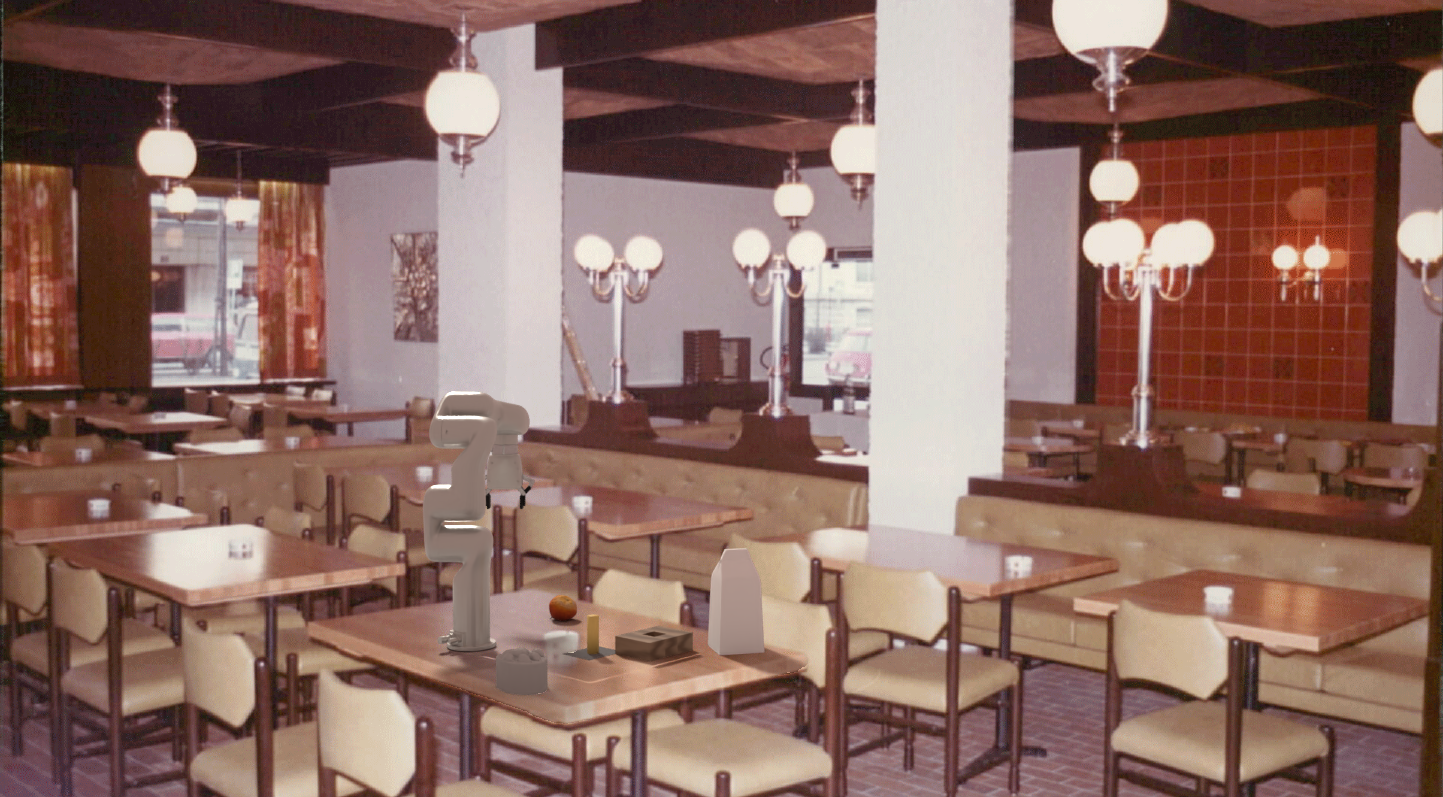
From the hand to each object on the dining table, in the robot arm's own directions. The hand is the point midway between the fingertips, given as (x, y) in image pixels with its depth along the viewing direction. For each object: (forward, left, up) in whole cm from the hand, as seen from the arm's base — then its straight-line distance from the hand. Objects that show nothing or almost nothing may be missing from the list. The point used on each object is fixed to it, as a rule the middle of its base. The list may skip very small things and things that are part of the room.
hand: (505, 508), depth 383 cm
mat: (-19, -57, -31) cm, 68 cm away
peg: (-19, -57, -30) cm, 67 cm away
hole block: (-8, -68, -31) cm, 75 cm away
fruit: (+4, -20, -31) cm, 37 cm away
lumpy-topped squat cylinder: (-52, -69, -31) cm, 92 cm away
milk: (+10, -80, -31) cm, 87 cm away
